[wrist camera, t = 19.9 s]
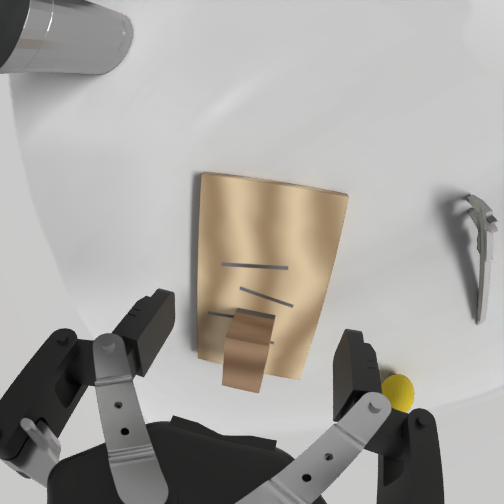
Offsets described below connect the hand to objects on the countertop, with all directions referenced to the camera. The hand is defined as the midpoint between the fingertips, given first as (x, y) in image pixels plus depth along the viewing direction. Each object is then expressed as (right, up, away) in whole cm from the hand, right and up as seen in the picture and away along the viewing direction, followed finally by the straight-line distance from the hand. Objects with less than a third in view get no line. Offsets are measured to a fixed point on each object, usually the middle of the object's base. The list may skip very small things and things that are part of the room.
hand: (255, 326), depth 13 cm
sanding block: (0, -8, +27) cm, 28 cm away
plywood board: (+1, -1, +25) cm, 25 cm away
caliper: (+30, +2, +18) cm, 35 cm away
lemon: (+22, -16, +27) cm, 39 cm away
